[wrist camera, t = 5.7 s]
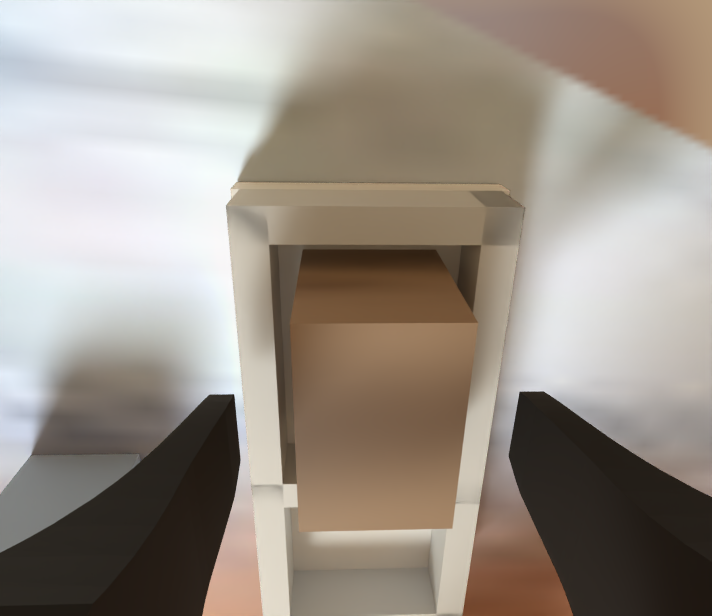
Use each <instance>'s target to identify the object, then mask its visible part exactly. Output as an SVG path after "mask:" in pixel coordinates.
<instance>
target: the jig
mask: <svg viewBox="0 0 712 616" xmlns="http://www.w3.org/2000/svg"><path fill="white" fill-rule="evenodd" d="M509 195H510V191H509V190H508V189H506V188H505V187H503V186H502V185H500V184H417V183H292V182H236V183H235V184H234V186H233V187H232V188H231V200H230V201H229V202H228V204H227V205H226V212H227V223H228V234H229V245H230V256H231V267H232V278H233V289H234V300H235V311H236V322H237V333H238V344H239V356H240V367H241V378H242V389H243V400H244V411H245V422H246V433H247V444H248V455H249V466H250V477H251V488H252V500H253V511H254V522H255V533H256V544H257V555H258V566H259V577H260V588H261V599H262V610H263V616H462V615H463V608H464V601H465V595H466V588H467V582H468V575H469V569H470V562H471V556H472V549H473V543H474V536H475V530H476V523H477V517H478V510H479V504H480V497H481V491H482V484H483V478H484V471H485V465H486V458H487V452H488V445H489V439H490V432H491V426H492V419H493V413H494V406H495V399H496V393H497V386H498V380H499V373H500V367H501V360H502V354H503V347H504V341H505V334H506V328H507V321H508V315H509V308H510V302H511V295H512V289H513V282H514V276H515V269H516V263H517V256H518V250H519V243H520V237H521V230H522V224H523V217H524V210H525V207H524V206H522V205H521V204H519V203H518V202H517V201H515V200H514V199H512V198H511V197H509ZM303 249H378V250H436V251H437V252H438V254H439V256H440V258H441V259H442V261H443V263H444V264H445V266H446V268H447V270H448V271H449V273H450V275H451V277H452V278H453V280H454V282H455V284H456V285H457V287H458V289H459V290H460V292H461V294H462V296H463V297H464V299H465V301H466V303H467V304H468V306H469V308H470V309H471V311H472V313H473V315H474V316H475V318H476V320H477V322H478V329H477V337H476V345H475V353H474V361H473V368H472V376H471V384H470V392H469V400H468V408H467V416H466V424H465V432H464V440H463V448H462V456H461V464H460V472H459V480H458V488H457V496H456V504H455V512H454V520H453V528H452V529H414V530H368V531H321V532H299V523H298V500H297V477H296V455H295V432H294V409H293V387H292V364H291V341H290V319H291V314H292V308H293V302H294V297H295V291H296V285H297V279H298V274H299V268H300V262H301V257H302V251H303Z"/></svg>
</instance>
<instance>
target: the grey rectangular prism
mask: <svg viewBox="0 0 712 616" xmlns="http://www.w3.org/2000/svg"><path fill="white" fill-rule="evenodd" d="M140 462H141V460H140V455H139V454H78V455H31V456H30V457H29V459H28V460H27V461H26V462H25V464H24V465H23V466H22V467H21V469H20V470H19V471H18V472H17V474H16V475H15V476H14V478H13V479H12V480H11V481H10V483H9V484H8V485H7V486H6V488H5V489H4V490H3V491H2V493H1V494H0V552H2V551H4V550H6V549H8V548H10V547H12V546H14V545H16V544H18V543H20V542H21V541H23V540H25V539H27V538H29V537H31V536H32V535H34V534H36V533H38V532H40V531H41V530H43V529H45V528H47V527H48V526H50V525H52V524H54V523H55V522H57V521H58V520H60V519H61V518H63V517H65V516H66V515H68V514H69V513H71V512H72V511H74V510H76V509H77V508H79V507H80V506H82V505H83V504H85V503H87V502H88V501H90V500H91V499H93V498H94V497H96V496H97V495H98V494H100V493H101V492H103V491H104V490H105V489H107V488H108V487H109V486H111V485H112V484H114V483H115V482H116V481H118V480H119V479H120V478H121V477H123V476H124V475H125V474H127V473H128V472H129V471H130V470H131V469H133V468H134V467H135V466H136V465H137V464H138V463H140Z"/></svg>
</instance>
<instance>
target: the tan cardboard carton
mask: <svg viewBox="0 0 712 616" xmlns="http://www.w3.org/2000/svg"><path fill="white" fill-rule="evenodd" d="M477 329H478V322H477V320H476V318H475V316H474V315H473V313H472V311H471V309H470V308H469V306H468V304H467V303H466V301H465V299H464V297H463V296H462V294H461V292H460V290H459V289H458V287H457V285H456V284H455V282H454V280H453V278H452V277H451V275H450V273H449V271H448V270H447V268H446V266H445V264H444V263H443V261H442V259H441V258H440V256H439V254H438V252H437V251H436V250H378V249H303V251H302V257H301V262H300V268H299V274H298V279H297V285H296V291H295V297H294V302H293V308H292V314H291V319H290V341H291V364H292V387H293V409H294V432H295V455H296V477H297V500H298V523H299V532H321V531H368V530H414V529H452V528H453V520H454V512H455V504H456V496H457V488H458V480H459V472H460V464H461V456H462V448H463V440H464V432H465V424H466V416H467V408H468V400H469V392H470V384H471V376H472V368H473V361H474V353H475V345H476V337H477Z"/></svg>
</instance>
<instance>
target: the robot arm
mask: <svg viewBox="0 0 712 616" xmlns="http://www.w3.org/2000/svg"><path fill="white" fill-rule="evenodd" d="M509 459H510V462H511V466H512V469H513V472H514V476H515V479H516V482H517V485H518V488H519V491H520V494H521V496H522V498H523V500H524V503H525V505H526V507H527V509H528V511H529V514H530V516H531V518H532V520H533V522H534V524H535V527H536V529H537V531H538V533H539V535H540V537H541V539H542V541H543V544H544V546H545V548H546V550H547V552H548V554H549V556H550V559H551V561H552V563H553V565H554V567H555V569H556V571H557V574H558V576H559V578H560V581H561V583H562V586H563V588H564V590H565V593H566V596H567V599H568V601H569V604H570V607H571V610H572V613H573V616H712V497H710V496H708V495H706V494H704V493H702V492H700V491H698V490H696V489H694V488H692V487H690V486H689V485H687V484H685V483H683V482H681V481H679V480H678V479H676V478H674V477H672V476H670V475H668V474H667V473H665V472H663V471H661V470H659V469H658V468H656V467H654V466H653V465H651V464H649V463H648V462H646V461H645V460H643V459H641V458H640V457H638V456H637V455H635V454H633V453H632V452H630V451H629V450H627V449H625V448H624V447H622V446H621V445H619V444H618V443H616V442H615V441H613V440H612V439H611V438H609V437H608V436H606V435H605V434H603V433H602V432H600V431H599V430H598V429H596V428H595V427H593V426H592V425H591V424H589V423H588V422H586V421H585V420H584V419H582V418H581V417H579V416H578V415H577V414H575V413H574V412H573V411H571V410H570V409H568V408H567V407H566V406H564V405H563V404H561V403H560V402H559V401H557V400H556V399H554V398H553V397H551V396H550V395H548V394H547V393H545V392H520V393H519V399H518V405H517V411H516V416H515V422H514V428H513V434H512V440H511V445H510V451H509ZM239 466H240V450H239V439H238V429H237V419H236V409H235V398H234V394H230V395H209V396H208V397H207V398H205V399H204V400H203V401H202V402H201V403H200V404H199V405H198V407H197V408H196V409H195V410H194V411H193V412H192V413H191V414H190V415H189V416H188V417H187V418H186V419H185V420H184V421H183V422H182V423H181V424H180V425H179V426H178V427H177V428H176V429H175V430H174V431H173V432H172V433H171V434H170V435H169V436H168V437H167V438H166V439H165V440H164V441H163V442H162V443H161V444H160V445H159V446H158V447H156V448H155V449H154V450H153V451H152V452H151V453H150V454H149V455H148V456H146V457H145V458H144V459H143V460H142V461H141V462H140V463H138V464H137V465H136V466H135V467H134V468H133V469H131V470H130V471H129V472H128V473H127V474H125V475H124V476H123V477H121V478H120V479H119V480H118V481H116V482H115V483H114V484H112V485H111V486H109V487H108V488H107V489H105V490H104V491H103V492H101V493H100V494H98V495H97V496H96V497H94V498H93V499H91V500H90V501H88V502H87V503H85V504H83V505H82V506H80V507H79V508H77V509H76V510H74V511H72V512H71V513H69V514H68V515H66V516H65V517H63V518H61V519H60V520H58V521H57V522H55V523H54V524H52V525H50V526H48V527H47V528H45V529H43V530H41V531H40V532H38V533H36V534H34V535H32V536H31V537H29V538H27V539H25V540H23V541H21V542H20V543H18V544H16V545H14V546H12V547H10V548H8V549H6V550H4V551H2V552H0V616H202V614H203V608H204V603H205V599H206V595H207V591H208V587H209V583H210V579H211V576H212V572H213V569H214V566H215V562H216V559H217V555H218V552H219V549H220V545H221V542H222V539H223V535H224V532H225V528H226V525H227V522H228V518H229V515H230V511H231V508H232V504H233V501H234V497H235V491H236V485H237V479H238V473H239Z"/></svg>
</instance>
